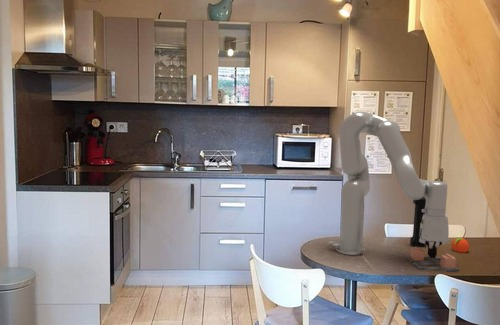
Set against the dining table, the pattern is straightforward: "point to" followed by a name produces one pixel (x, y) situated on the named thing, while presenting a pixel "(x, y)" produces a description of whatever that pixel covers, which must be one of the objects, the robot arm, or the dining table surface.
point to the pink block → (447, 261)
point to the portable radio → (418, 222)
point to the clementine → (460, 245)
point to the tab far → (417, 254)
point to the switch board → (431, 264)
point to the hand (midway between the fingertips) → (431, 257)
